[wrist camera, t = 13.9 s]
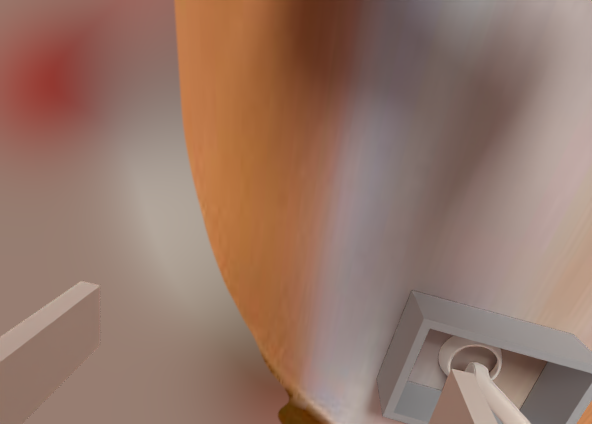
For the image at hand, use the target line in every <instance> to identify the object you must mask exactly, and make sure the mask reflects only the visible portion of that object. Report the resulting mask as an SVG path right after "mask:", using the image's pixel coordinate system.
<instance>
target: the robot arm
mask: <svg viewBox="0 0 592 424" xmlns="http://www.w3.org/2000/svg"><path fill="white" fill-rule="evenodd" d="M99 346H100V285H95V284H91V283H87V282H83V281H80V282H79V283H78V284H76V285H75V286H73V287H72V288H70V289H69V290H67V291H66V292H65V293H63V294H62V295H61V296H59V297H57V298H56V299H54V300H53V301H52V302H50V303H49V304H47V305H46V306H44V307H43V308H41V309H40V310H39V311H37V312H36V313H34V314H33V315H31V316H30V317H28V318H27V319H26V320H24V321H22V322H21V323H20V324H18V325H17V326H15V327H14V328H12V329H11V330H9V331H8V332H7V333H5V334H4V335H2V336H1V337H0V424H23V423H24V422H25V421H26V420H27V419H28V417H30V416H31V414H32V413H33V412H35V411H36V410H37V409H38V407H39V406H40V405H41V404H42V403H43V402H44V401H45V400H46V399H47V398H48V397H49V396H50V395H51V394H52V393H53V392H54V391H55V390H56V389H57V388H58V387H59V386H60V385H61V384H62V383H63V382H64V381H65V380H66V379H67V378H68V377H69V376H70V375H71V374H72V373H73V372H74V371H75V370H76V369H77V368H78V367H79V366H80V365H81V364H82V363H83V362H84V361H85V360H86V359H87V358H88V357H89V356H90V355H91V354H92V353H93V352H94V351H95V350H96V349H97V348H98V347H99ZM429 424H498V423H497V421H496V419H495V417H494V415H493V413H492V411H491V409H490V407H489V405H488V403H487V401H486V399H485V397H484V395H483V392H482V390H481V388H480V386H479V384H478V382H477V380H476V378H475V376H474V374H473V373H469V372H464V371H460V370H456V369H452V368H451V371H450V373H449V375H448V378H447V380H446V383H445V385H444V387H443V390H442V392H441V395H440V397H439V399H438V402H437V404H436V407H435V409H434V412H433V414H432V416H431V419H430V421H429Z"/></svg>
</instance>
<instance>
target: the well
mask: <svg viewBox="0 0 592 424" xmlns="http://www.w3.org/2000/svg"><path fill="white" fill-rule="evenodd" d="M429 329H433V330H437V331H440V332H444V333H447V334H451V335H455V336H458V337H462V338H466V339H469V340H473V341H476V342H480V343H484V344H487V345H491V346H494V347H498V348H502V349H505V350H509V351H512V352H516V353H520V354H523V355H527V356H530V357H534V358H538V359H541V360H545V361H548V362H547V364H546V366H545V368H544V369H543V371H542V373H541V375H540V376H539V378H538V380H537V381H536V383H535V385H534V387H533V388H532V390H531V392H530V394H529V395H528V397H527V399H526V400H525V402H524V404H523V406H522V407H521V409H520V412H521V413H522V414H523V415H524V416H525V417H526V418H527V419H528V420H529V422H530V423H531V424H576V423H577V422H578V420H579V419H580V417H581V416H582V414H583V413H584V411H585V409H586V408H587V406H588V405H589V403H590V402H591V400H592V351H591V350H589V349H588V348H587V347H586V346H585V345H584V344H583V343H582V342H581V341H580V340H579V339H578V338H577V337H576V336H575V335H574V334H570V333H567V332H563V331H559V330H556V329H552V328H548V327H545V326H541V325H537V324H534V323H530V322H527V321H523V320H519V319H516V318H512V317H508V316H505V315H501V314H497V313H494V312H490V311H486V310H483V309H479V308H475V307H472V306H468V305H464V304H461V303H457V302H453V301H450V300H446V299H443V298H439V297H435V296H432V295H428V294H424V293H421V292H417V291H413V290H412V291H411V294H410V296H409V299H408V301H407V304H406V306H405V309H404V311H403V314H402V316H401V319H400V321H399V324H398V326H397V329H396V331H395V334H394V336H393V339H392V341H391V344H390V346H389V349H388V351H387V354H386V356H385V359H384V362H383V364H382V367H381V369H380V372H379V374H378V377H377V384H378V391H379V397H380V404H381V410H382V416H383V417H386V418H389V419H393V420H396V421H400V422H403V423H407V424H429V421H430V419H431V416H432V414H433V412H434V409H435V407H436V404H437V402H438V399H439V397H440V395H441V392H442V391H441V390H437V389H434V388H430V387H427V386H423V385H420V384H416V383H413V382H409V381H407V380H408V378H409V376H410V373H411V371H412V369H413V366H414V364H415V362H416V359H417V357H418V355H419V352H420V350H421V348H422V345H423V343H424V341H425V339H426V336H427V334H428V332H429ZM491 411H492V410H491ZM492 413H493V415H494V417H495V419H496V421H497V423H498V424H503V423H502V421H501V420H500V419H499V418H498V417H497V416H496V414H495V413H494V412H493V411H492Z"/></svg>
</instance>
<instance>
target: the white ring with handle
mask: <svg viewBox="0 0 592 424" xmlns="http://www.w3.org/2000/svg"><path fill="white" fill-rule="evenodd" d="M471 346H479V347H484V348H487V349H489V350H490V351H492V352H493V353H494V354H495V356H496V357H497V363H496V365H495V367H494V368H493V369H492V370H491V372H489V370H488V369H487V368H486V367H485V366H484V365H482V364H480V363H478V362H470V363H469V364H468V365H467V367H466V370H465V372H469V373H473V374H474V376H475V378H476V380H477V382H478V384H479V386H480V388H481V390H482V392H483V395H484V397H485V399H486V401H487V403H488V405H489V407H490V409H491V410H492V411H493V412H494V413H495V414H496V416H497V417H498V418H499V419H500V420H501V421H502V423H503V424H531V423H530V422H529V420H528V419H527V418H526V417H525V416H524V415H523V414H522V413H521V412H520V411H519V409H518V408H517V407H516V406H515V405H514V404H513V403H512V402H511V401H510V400H509V398H508V397H507V396H506V395H505V394H504V393H503V392H502V391H501V390H500V389H499V388H498V387H497V386H496V384H495V383H494V382H493V381H492V380H494V379H495V378H496V377H497V376H498V374H499V372H500V370H501V366H502V353H501V349H500V348H498V347H494V346H491V345H487V344H484V343H480V342H476V341H473V340H469V339H466V338H462V337H458V336H455V335H454V336H452V337H450V338H449V339H448V340H447V341H446V342H445V343H444V344H443V345H442V347H441V349H440V351H439V355H438V360H439V365H440V367H441V369H442V370H443V372H444V373H445V374H446V375H447V376H448V375H449V373H450V371H451V369H450V363H451V360H452V358H453V356H454V355H455V354H456V353H457V352H458V351H460V350H462V349H464V348H467V347H471ZM488 372H489V373H488Z"/></svg>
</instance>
